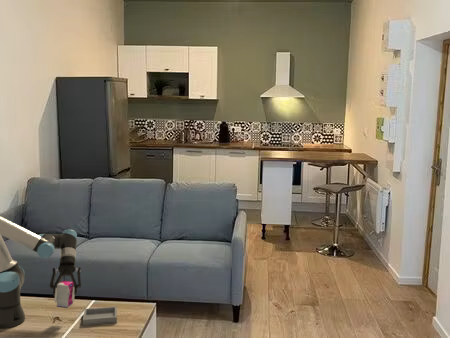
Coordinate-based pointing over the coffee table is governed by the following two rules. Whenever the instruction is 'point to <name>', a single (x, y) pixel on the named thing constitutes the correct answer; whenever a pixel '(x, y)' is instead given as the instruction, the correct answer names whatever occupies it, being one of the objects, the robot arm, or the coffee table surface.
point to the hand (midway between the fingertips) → (64, 301)
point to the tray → (100, 316)
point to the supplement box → (64, 294)
